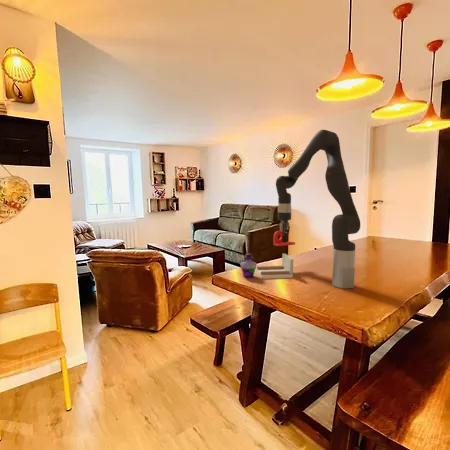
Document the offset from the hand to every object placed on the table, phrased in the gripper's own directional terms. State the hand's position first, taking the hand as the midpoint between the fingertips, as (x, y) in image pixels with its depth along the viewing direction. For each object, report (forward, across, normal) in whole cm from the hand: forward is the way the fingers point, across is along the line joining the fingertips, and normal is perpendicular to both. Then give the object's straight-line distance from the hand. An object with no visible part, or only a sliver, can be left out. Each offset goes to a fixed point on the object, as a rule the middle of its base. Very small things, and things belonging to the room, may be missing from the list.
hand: (284, 241), depth 164 cm
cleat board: (+15, -14, +9) cm, 22 cm away
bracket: (+2, -2, 0) cm, 2 cm away
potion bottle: (+15, -16, +23) cm, 32 cm away
